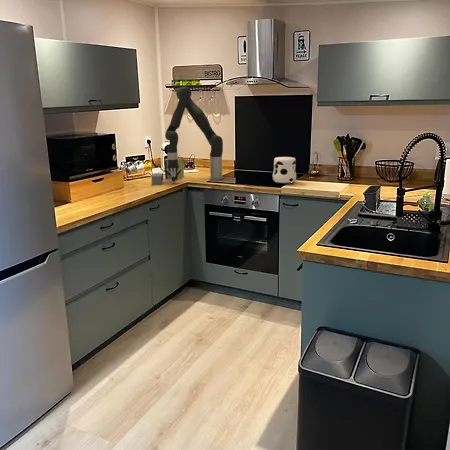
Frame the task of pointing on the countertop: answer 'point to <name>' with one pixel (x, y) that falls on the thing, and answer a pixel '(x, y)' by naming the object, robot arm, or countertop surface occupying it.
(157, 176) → the overhang dock
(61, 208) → the countertop surface
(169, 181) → the shell plate
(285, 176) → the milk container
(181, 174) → the protein box
